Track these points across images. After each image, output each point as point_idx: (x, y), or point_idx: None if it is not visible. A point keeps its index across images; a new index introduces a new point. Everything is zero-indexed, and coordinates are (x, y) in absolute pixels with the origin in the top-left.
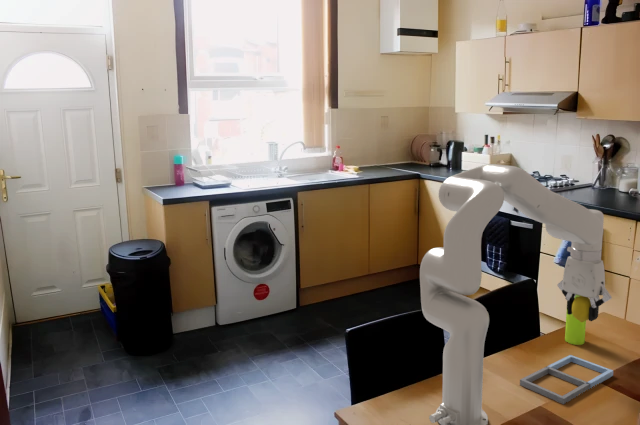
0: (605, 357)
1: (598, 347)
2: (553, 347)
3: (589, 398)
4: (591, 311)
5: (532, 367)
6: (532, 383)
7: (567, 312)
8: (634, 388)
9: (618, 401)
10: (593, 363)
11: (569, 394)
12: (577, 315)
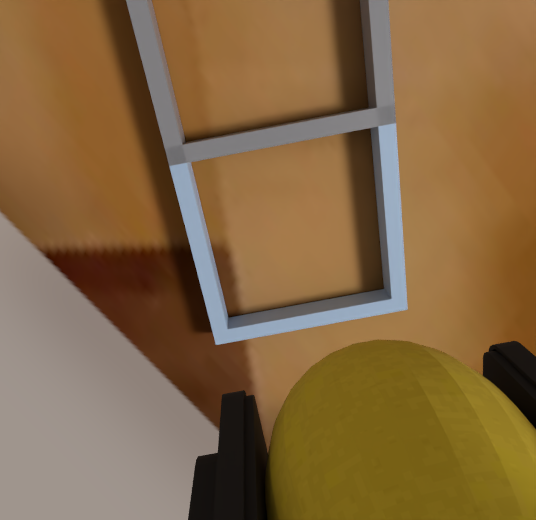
0: None
1: None
2: (508, 326)
3: (107, 83)
4: (215, 498)
5: (451, 89)
6: None
7: (524, 349)
8: (107, 319)
9: (43, 177)
10: (299, 327)
11: None
12: (368, 350)
